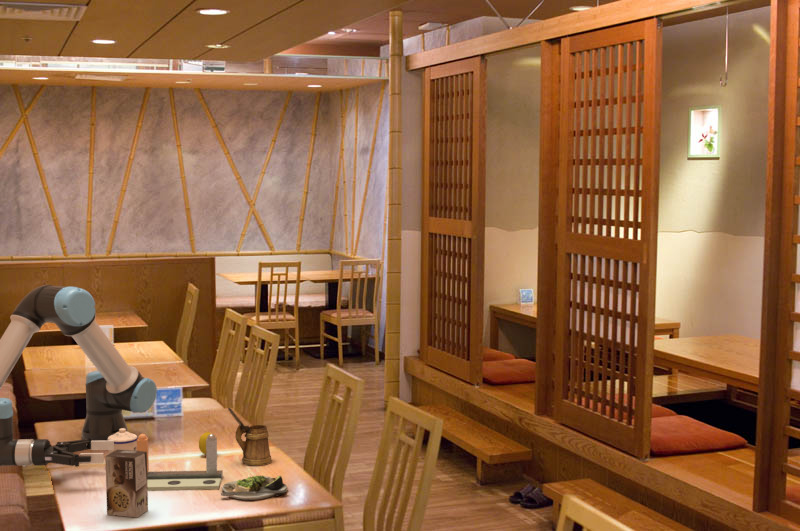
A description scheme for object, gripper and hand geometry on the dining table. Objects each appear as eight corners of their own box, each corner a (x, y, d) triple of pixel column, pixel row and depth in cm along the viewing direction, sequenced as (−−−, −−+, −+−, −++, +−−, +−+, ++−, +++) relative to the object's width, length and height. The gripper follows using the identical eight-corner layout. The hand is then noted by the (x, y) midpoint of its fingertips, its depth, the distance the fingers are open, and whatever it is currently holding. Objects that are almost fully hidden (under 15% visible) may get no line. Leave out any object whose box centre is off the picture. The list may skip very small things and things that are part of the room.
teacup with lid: (138, 469, 292) (137, 431, 291) (107, 471, 290) (106, 433, 289) (138, 458, 304) (137, 422, 303) (108, 460, 301) (107, 423, 300)
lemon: (195, 457, 305) (195, 432, 304) (204, 452, 310) (204, 428, 310) (211, 459, 303) (211, 434, 303) (219, 454, 309) (219, 430, 308)
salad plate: (233, 508, 259) (233, 492, 258) (206, 491, 273) (206, 475, 273) (296, 495, 270) (296, 479, 269) (267, 479, 284) (267, 464, 284)
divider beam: (130, 478, 283) (129, 433, 282) (222, 476, 285) (222, 432, 284) (128, 481, 280) (127, 436, 279) (221, 480, 282) (221, 435, 281)
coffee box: (149, 510, 256) (148, 451, 255) (136, 518, 250) (135, 457, 248) (118, 507, 258) (117, 448, 257) (105, 515, 252) (104, 455, 251)
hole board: (134, 483, 279) (134, 479, 278) (221, 481, 281) (221, 478, 281) (129, 490, 272) (129, 487, 272) (218, 489, 274) (218, 485, 274)
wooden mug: (226, 460, 303) (226, 404, 301) (269, 457, 306) (269, 401, 305) (229, 468, 294) (229, 410, 292) (273, 464, 298) (273, 408, 296)
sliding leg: (139, 470, 283) (138, 432, 282) (148, 470, 283) (148, 432, 282) (137, 473, 280) (136, 435, 279) (147, 473, 280) (146, 435, 279)
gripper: (46, 453, 291) (117, 452, 293) (21, 477, 266) (98, 476, 268) (46, 428, 290) (117, 428, 292) (20, 451, 266) (98, 450, 267)
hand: (108, 451), depth 280 cm, fingers open, 13 cm apart
